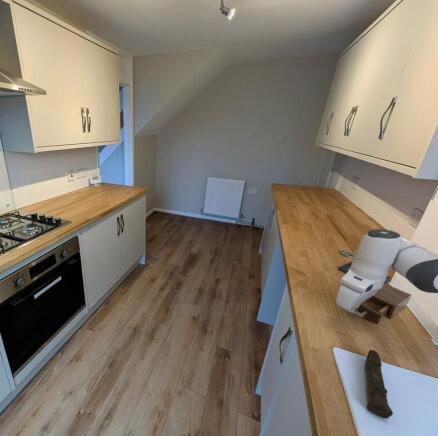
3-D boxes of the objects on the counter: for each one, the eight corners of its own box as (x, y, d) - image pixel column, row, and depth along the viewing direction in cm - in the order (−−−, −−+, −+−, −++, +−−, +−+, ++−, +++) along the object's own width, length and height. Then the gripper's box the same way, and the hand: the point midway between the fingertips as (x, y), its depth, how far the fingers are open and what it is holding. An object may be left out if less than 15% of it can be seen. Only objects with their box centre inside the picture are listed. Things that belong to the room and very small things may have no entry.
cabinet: (389, 319, 84) (396, 306, 82) (345, 296, 95) (350, 284, 93) (405, 306, 90) (411, 294, 88) (362, 286, 101) (366, 275, 99)
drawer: (371, 328, 78) (375, 319, 77) (330, 305, 88) (333, 297, 87) (393, 312, 85) (397, 304, 84) (352, 292, 96) (355, 284, 94)
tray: (390, 280, 105) (392, 277, 105) (377, 288, 100) (379, 284, 100) (350, 264, 118) (351, 261, 117) (337, 270, 113) (338, 266, 112)
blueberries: (340, 250, 132) (342, 247, 131) (359, 255, 126) (360, 252, 125) (337, 253, 128) (338, 250, 127) (356, 259, 122) (357, 256, 121)
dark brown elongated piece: (388, 423, 54) (396, 410, 52) (365, 410, 56) (372, 397, 54) (381, 364, 67) (387, 352, 66) (362, 356, 70) (368, 344, 68)
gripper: (368, 264, 84) (355, 296, 89) (338, 279, 75) (325, 313, 80) (392, 274, 79) (376, 307, 84) (362, 291, 70) (347, 326, 75)
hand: (351, 310), depth 82 cm, fingers closed
